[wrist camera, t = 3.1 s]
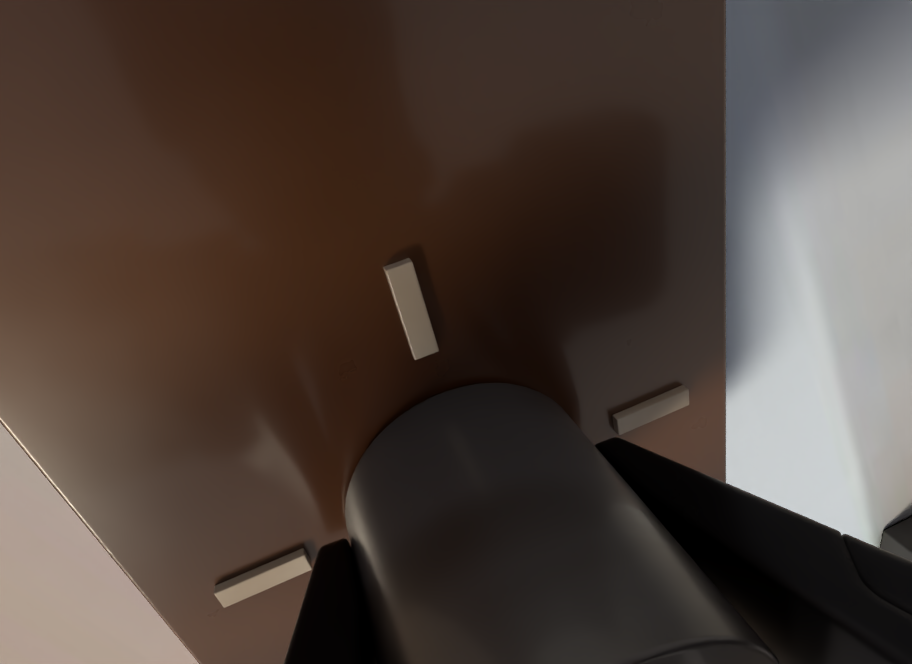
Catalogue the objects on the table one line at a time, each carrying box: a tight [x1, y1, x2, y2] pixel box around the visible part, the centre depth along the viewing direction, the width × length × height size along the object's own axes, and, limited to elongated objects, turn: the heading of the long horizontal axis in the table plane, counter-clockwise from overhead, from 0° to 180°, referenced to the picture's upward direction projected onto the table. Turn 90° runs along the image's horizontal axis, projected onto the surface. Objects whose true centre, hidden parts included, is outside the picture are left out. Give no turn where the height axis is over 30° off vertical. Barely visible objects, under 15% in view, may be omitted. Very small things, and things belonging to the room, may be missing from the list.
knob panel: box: [0, 0, 726, 664], centre depth 10 cm, size 14×10×3 cm
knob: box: [345, 383, 780, 664], centre depth 8 cm, size 4×4×5 cm
